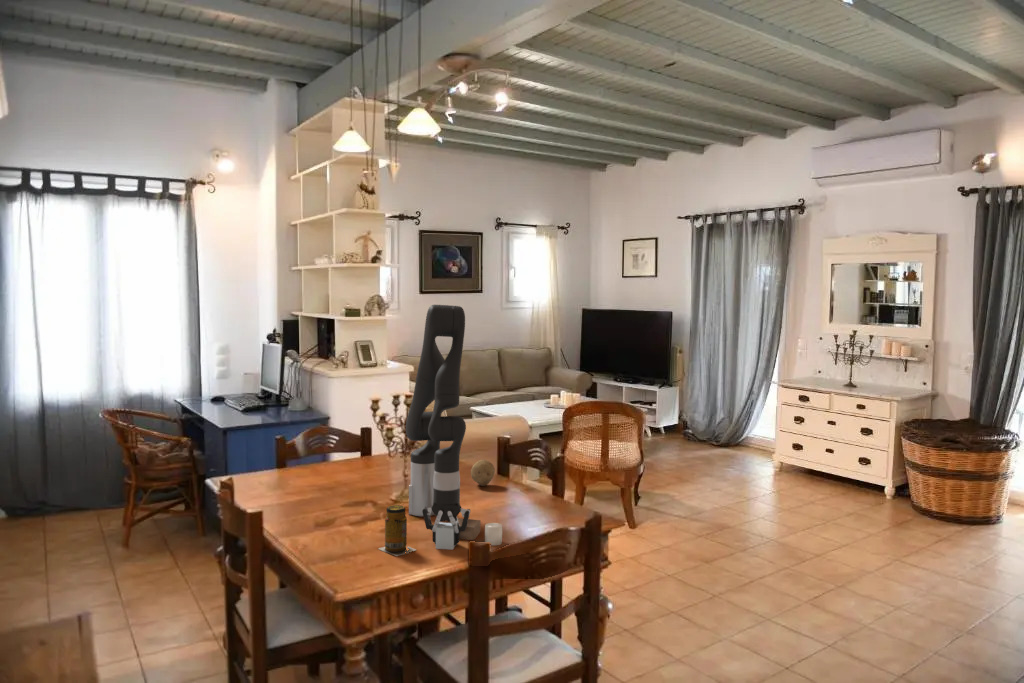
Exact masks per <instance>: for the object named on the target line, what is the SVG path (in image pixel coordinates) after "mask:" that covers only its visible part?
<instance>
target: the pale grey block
mask: <svg viewBox="0 0 1024 683" xmlns="http://www.w3.org/2000/svg"><path fill="white" fill-rule="evenodd" d="M454 532H455V531H454V527H453V526H452V524H451V522H443V521H441V522H440V524H439V525H438V527H436V544H435V549H436V550H454V549H455V546H456V545H454Z"/></svg>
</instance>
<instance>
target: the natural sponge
mask: <svg viewBox="0 0 1024 683" xmlns="http://www.w3.org/2000/svg"><path fill="white" fill-rule="evenodd" d="M495 471H496V470H495V465H493V463H492V462H491V461H490V460H486V459H479V460H477V461H476V462H475V463H474V464H473V465H472V467H471V469H470V476H471V479H472V480H473V481H474V482H476V483H477V484H478V485H479V486H481V487H486V486H487V485H489V483H490V482H491V481H492V480H493V479H494V476H495Z"/></svg>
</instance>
